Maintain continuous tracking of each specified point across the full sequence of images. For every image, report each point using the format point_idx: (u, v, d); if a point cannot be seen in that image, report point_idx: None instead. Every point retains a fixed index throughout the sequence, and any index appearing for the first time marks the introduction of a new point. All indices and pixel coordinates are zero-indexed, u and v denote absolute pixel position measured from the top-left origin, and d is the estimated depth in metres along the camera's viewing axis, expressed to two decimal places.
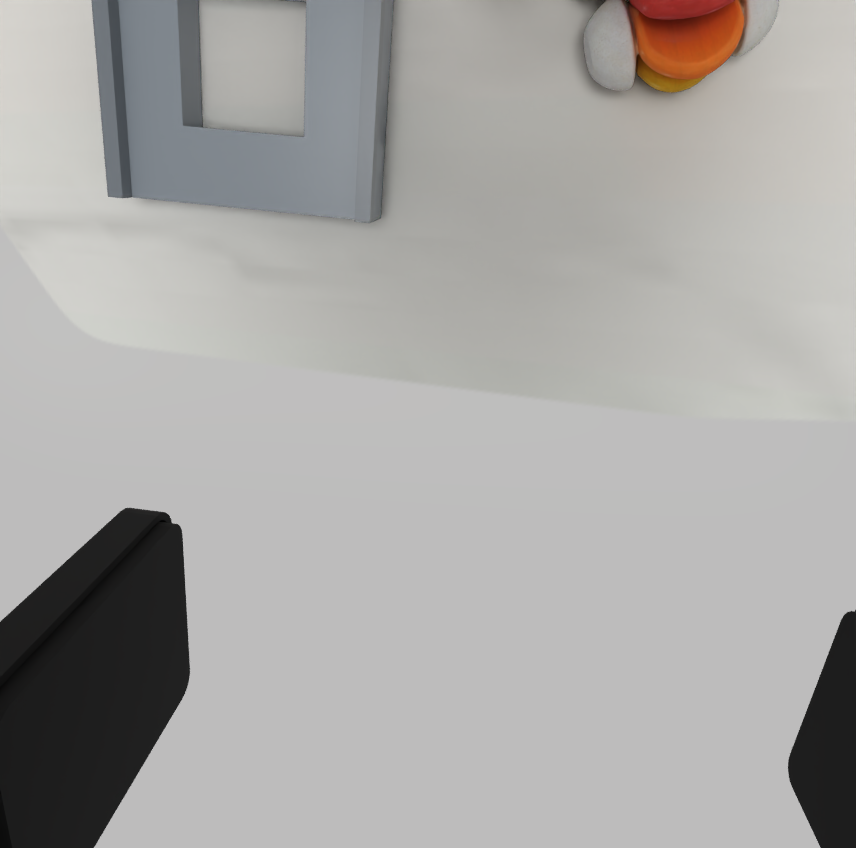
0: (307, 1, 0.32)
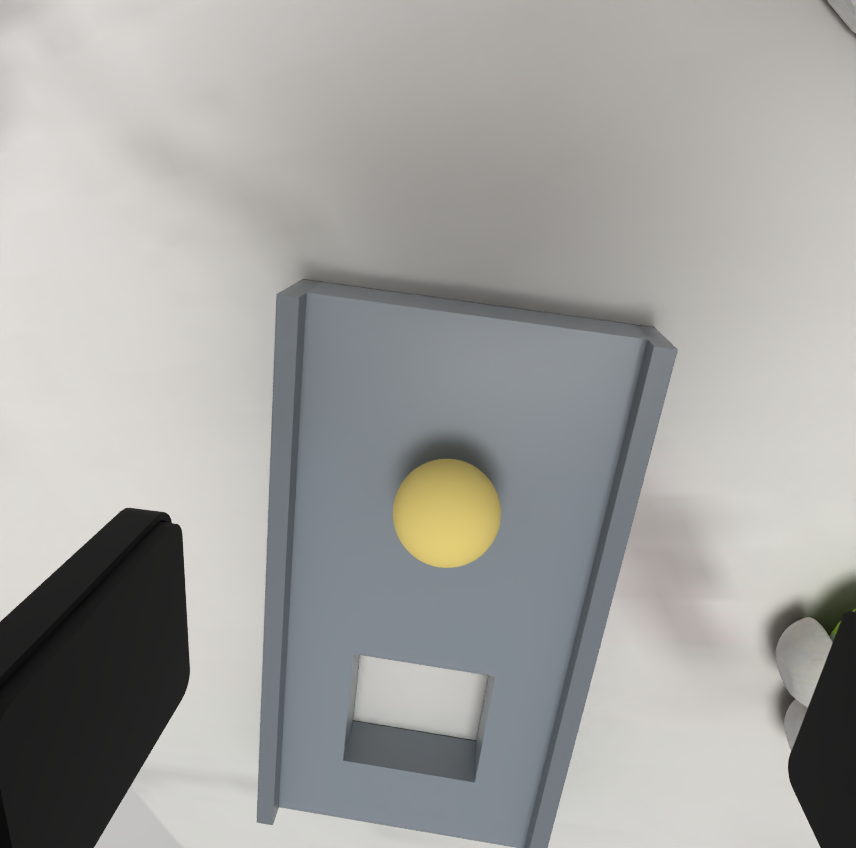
0: (495, 683, 0.30)
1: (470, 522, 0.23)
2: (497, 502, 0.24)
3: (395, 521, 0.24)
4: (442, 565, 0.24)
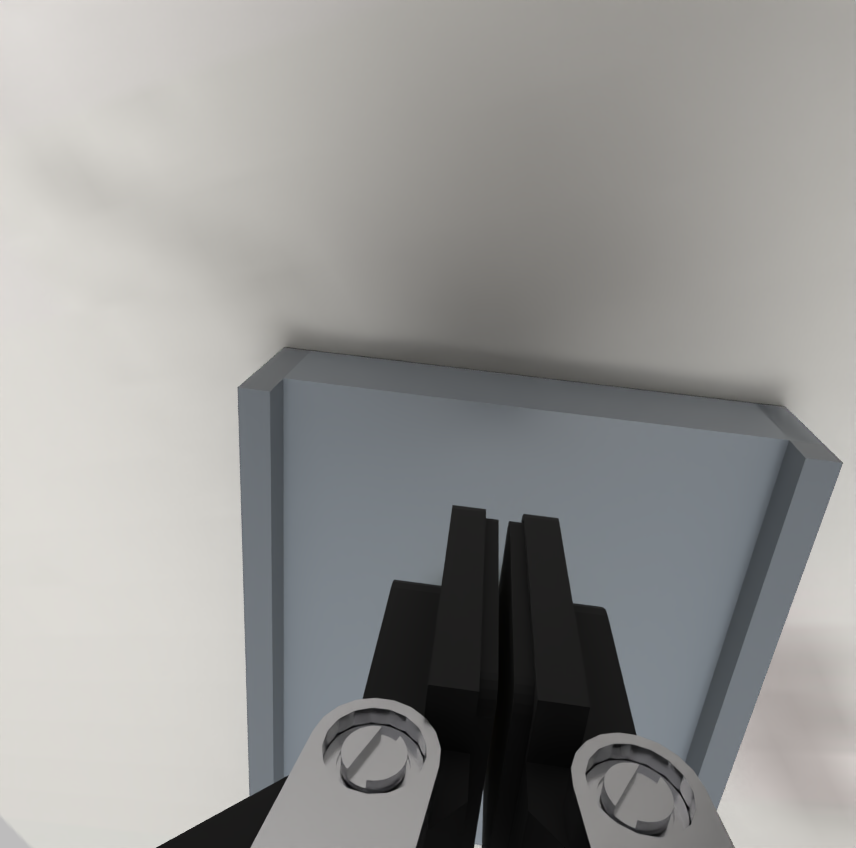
0: None
1: None
2: None
3: None
4: None
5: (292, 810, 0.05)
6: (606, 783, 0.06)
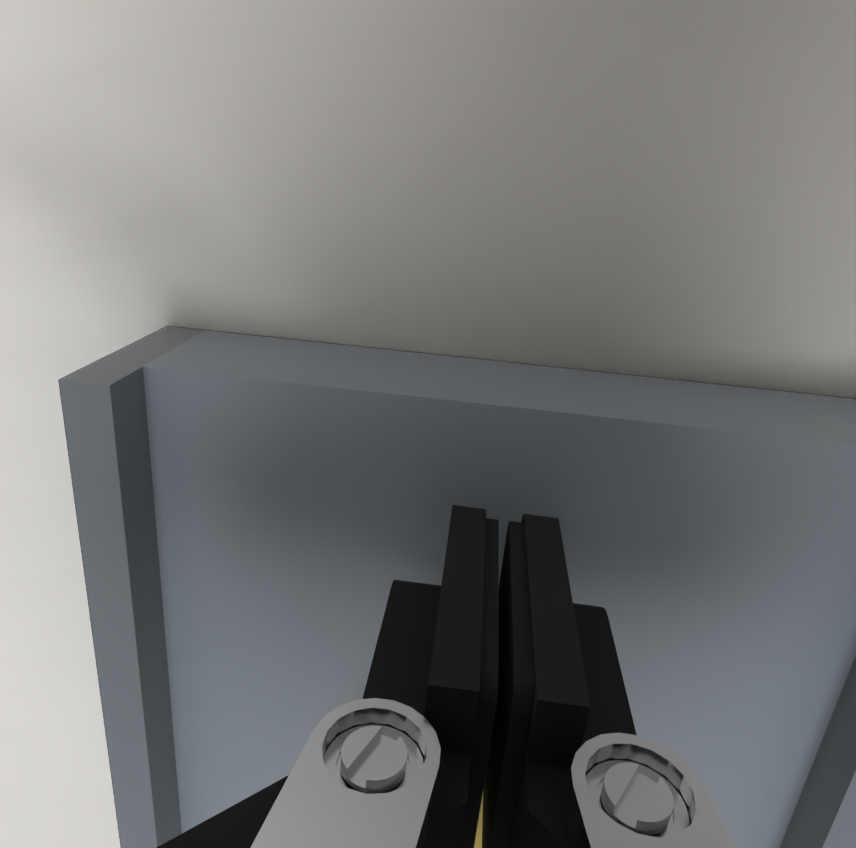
0: None
1: None
2: None
3: None
4: None
5: (292, 810, 0.05)
6: (606, 783, 0.06)
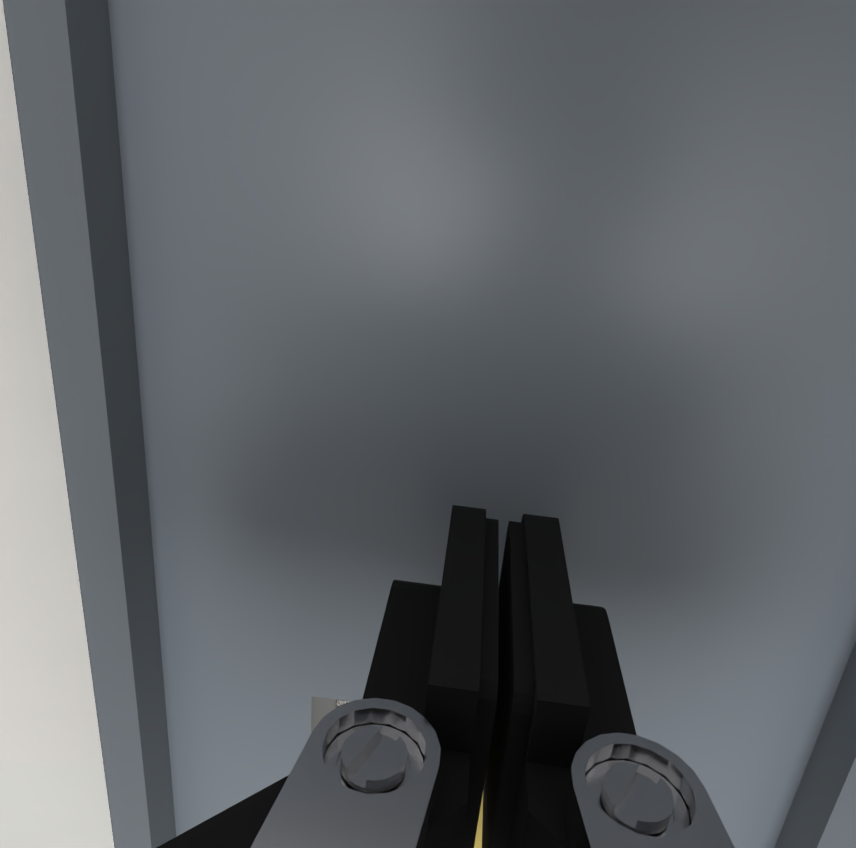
0: None
1: None
2: None
3: None
4: None
5: (292, 810, 0.05)
6: (606, 783, 0.06)
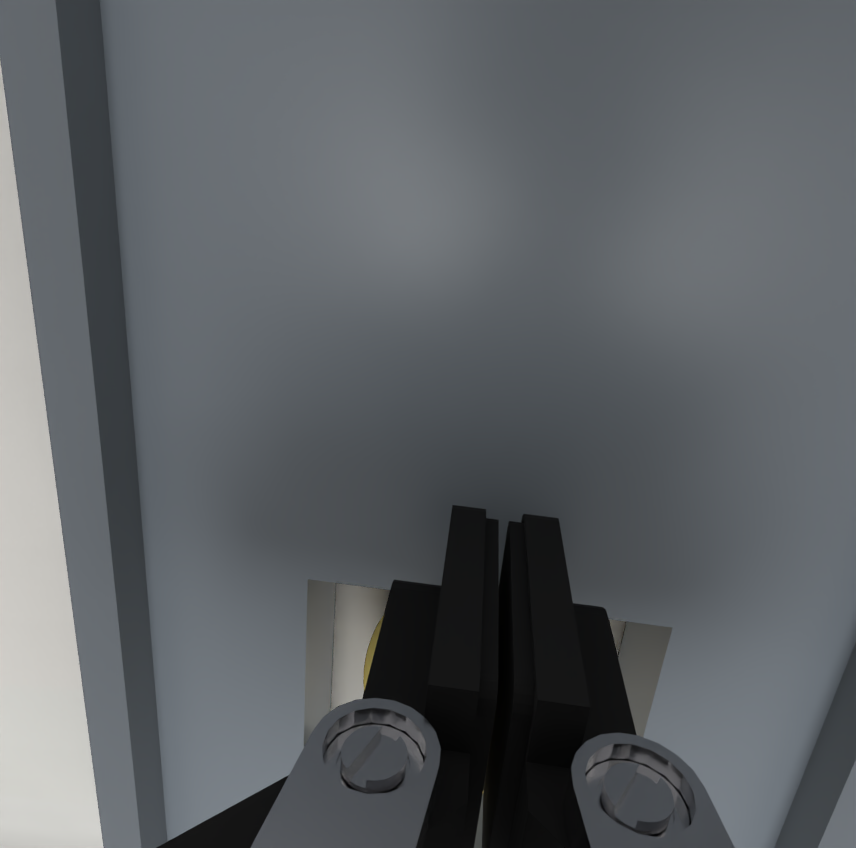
0: (670, 646, 0.12)
1: None
2: None
3: None
4: None
5: (292, 810, 0.05)
6: (606, 783, 0.06)
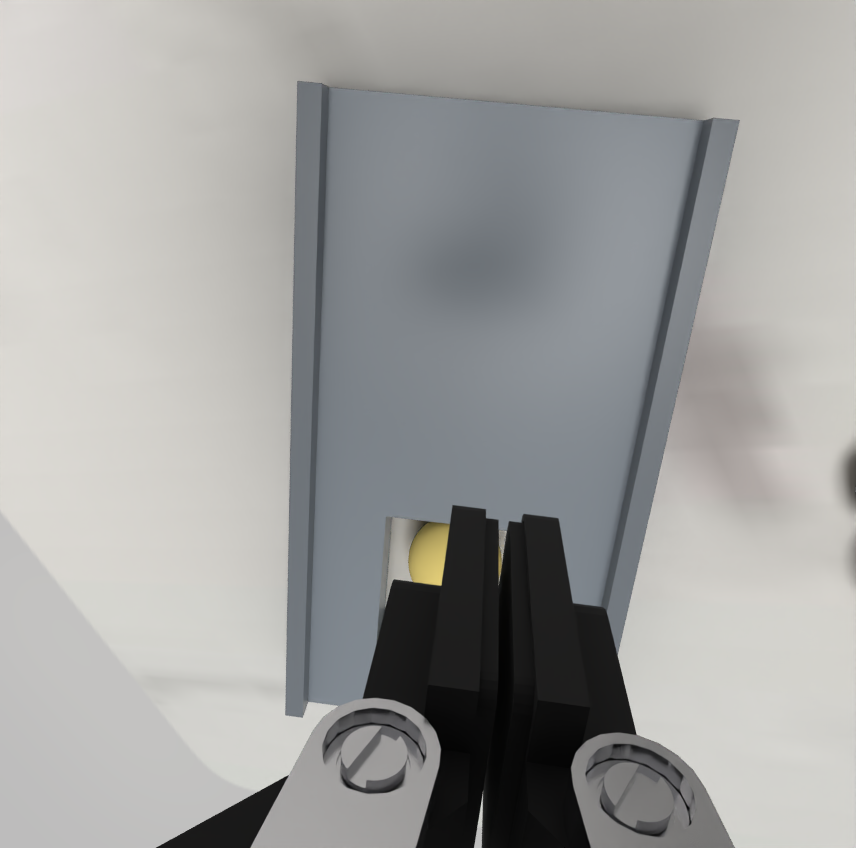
0: None
1: None
2: None
3: (411, 563, 0.28)
4: None
5: (292, 810, 0.05)
6: (606, 783, 0.06)
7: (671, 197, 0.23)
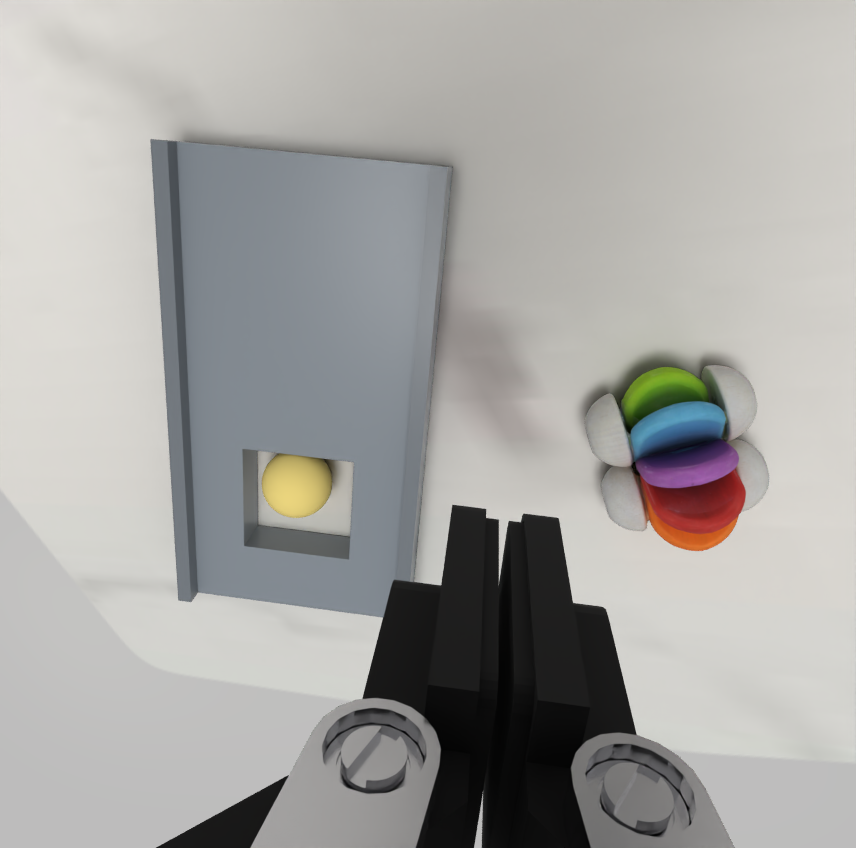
0: (354, 468, 0.38)
1: (306, 473, 0.37)
2: (327, 471, 0.39)
3: (262, 483, 0.38)
4: (289, 507, 0.37)
5: (292, 810, 0.05)
6: (606, 783, 0.06)
7: (416, 218, 0.32)
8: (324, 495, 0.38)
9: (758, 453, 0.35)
